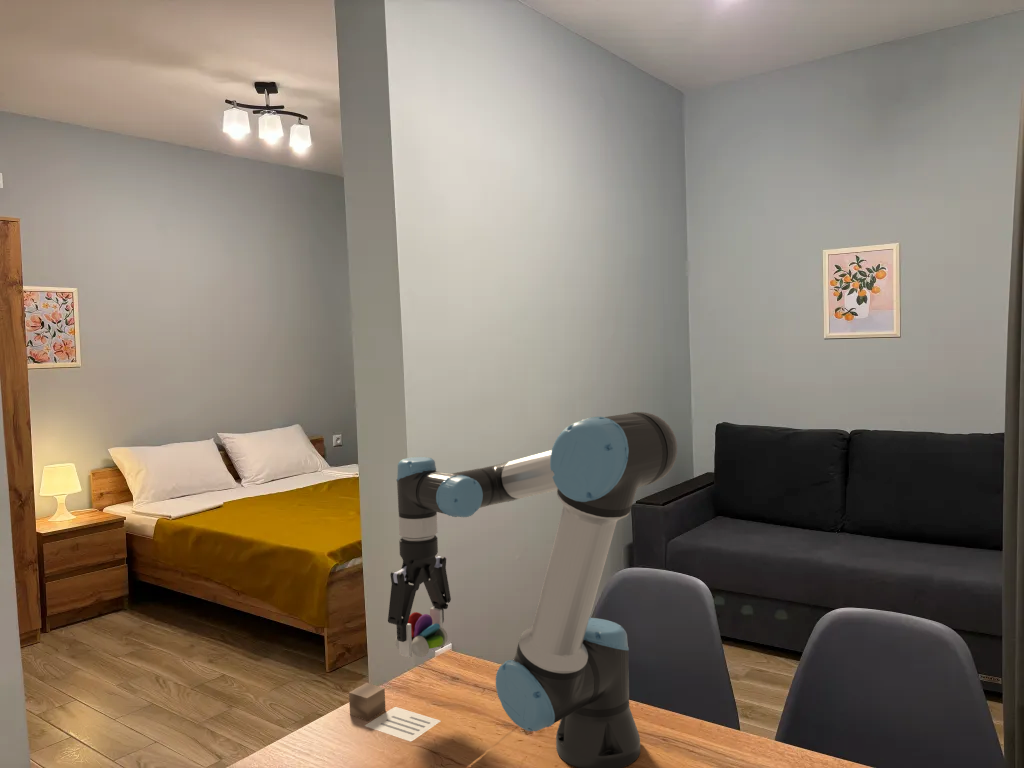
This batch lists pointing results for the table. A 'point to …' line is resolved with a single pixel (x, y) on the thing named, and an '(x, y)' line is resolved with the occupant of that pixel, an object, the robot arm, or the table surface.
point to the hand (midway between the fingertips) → (421, 647)
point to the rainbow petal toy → (424, 634)
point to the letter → (403, 723)
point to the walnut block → (367, 701)
